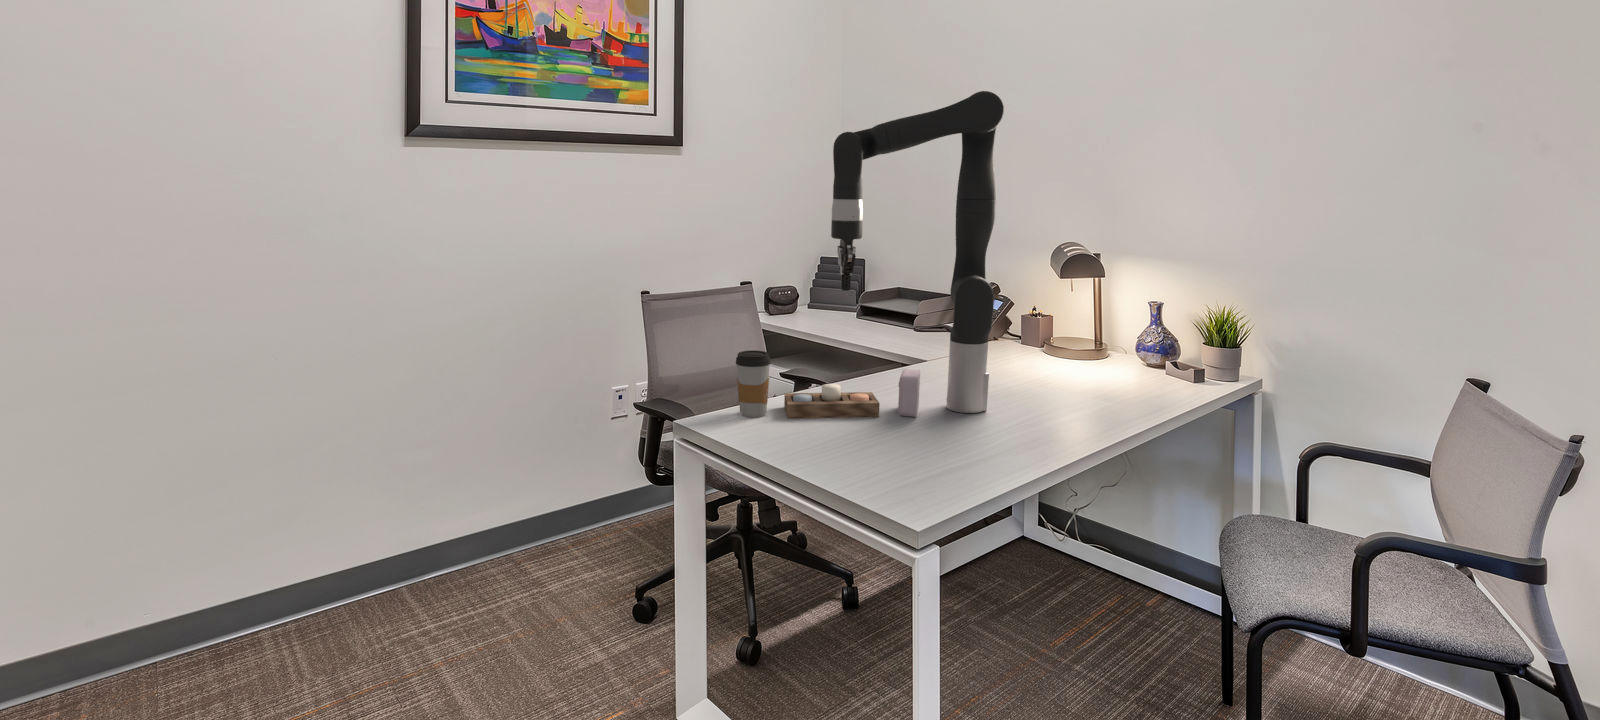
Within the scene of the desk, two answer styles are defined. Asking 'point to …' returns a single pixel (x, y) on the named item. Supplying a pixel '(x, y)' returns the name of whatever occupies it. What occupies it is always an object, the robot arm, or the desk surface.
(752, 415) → the coffee cup
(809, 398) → the light blue rounded block
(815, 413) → the brown wooden tray
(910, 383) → the electronic device
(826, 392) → the cream key
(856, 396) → the pink rounded block
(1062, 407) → the desk surface
